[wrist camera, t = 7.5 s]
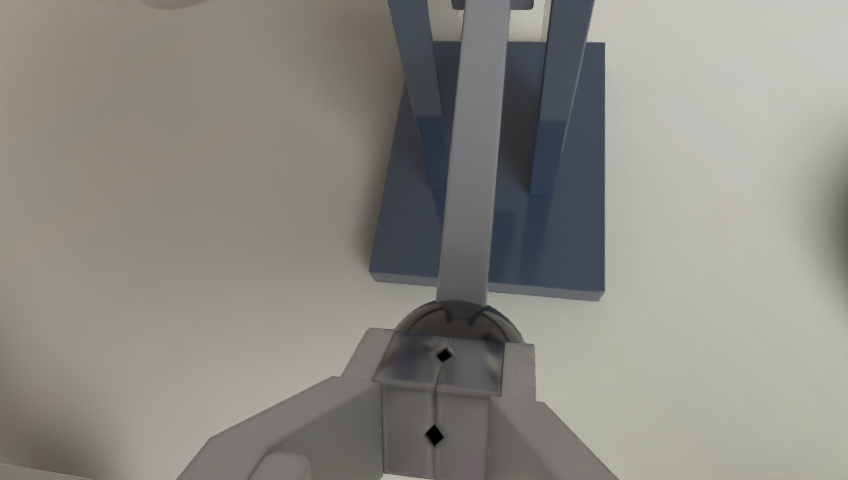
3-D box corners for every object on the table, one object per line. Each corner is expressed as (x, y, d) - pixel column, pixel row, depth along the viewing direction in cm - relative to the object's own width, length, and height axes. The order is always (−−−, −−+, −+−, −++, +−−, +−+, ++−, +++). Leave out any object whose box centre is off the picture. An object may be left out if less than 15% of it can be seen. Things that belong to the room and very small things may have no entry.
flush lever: (525, 447, 13) (532, 489, 9) (389, 429, 13) (350, 462, 10) (560, -69, 15) (576, -183, 12) (442, -66, 15) (424, -174, 12)
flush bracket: (599, 302, 20) (741, 73, 9) (374, 281, 22) (235, 63, 10) (600, 60, 25) (693, -301, 13) (415, 57, 26) (352, -269, 15)
